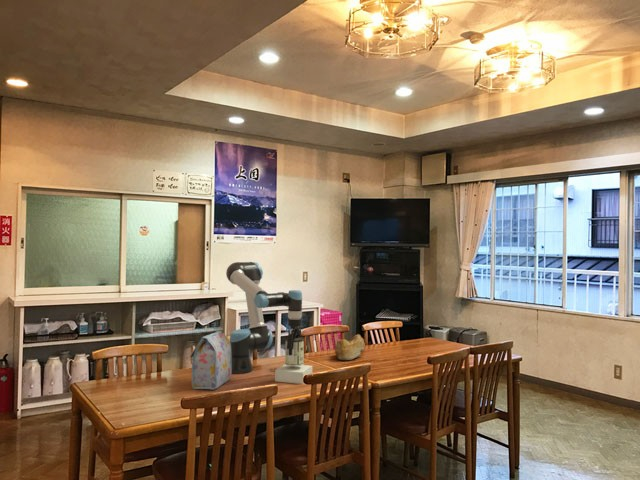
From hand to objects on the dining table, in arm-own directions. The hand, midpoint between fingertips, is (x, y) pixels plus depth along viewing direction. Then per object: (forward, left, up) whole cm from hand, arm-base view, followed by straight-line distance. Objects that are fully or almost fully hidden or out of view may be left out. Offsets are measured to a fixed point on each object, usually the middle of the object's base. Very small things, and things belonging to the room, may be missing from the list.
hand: (294, 359), depth 266 cm
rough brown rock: (+15, +62, -11) cm, 65 cm away
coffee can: (0, 0, -3) cm, 3 cm away
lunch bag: (-37, -25, -11) cm, 46 cm away
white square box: (0, 0, -11) cm, 11 cm away
